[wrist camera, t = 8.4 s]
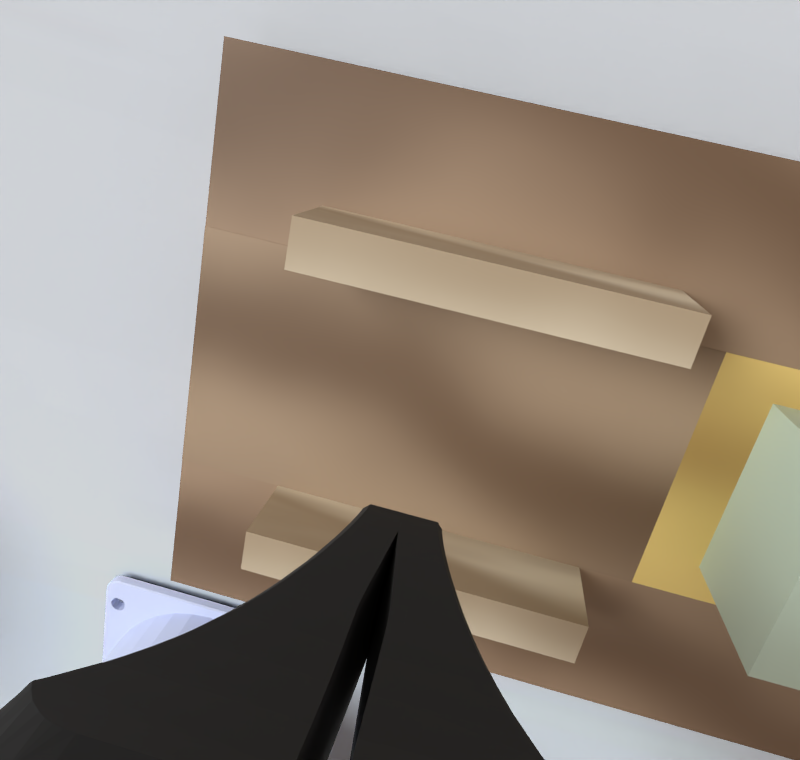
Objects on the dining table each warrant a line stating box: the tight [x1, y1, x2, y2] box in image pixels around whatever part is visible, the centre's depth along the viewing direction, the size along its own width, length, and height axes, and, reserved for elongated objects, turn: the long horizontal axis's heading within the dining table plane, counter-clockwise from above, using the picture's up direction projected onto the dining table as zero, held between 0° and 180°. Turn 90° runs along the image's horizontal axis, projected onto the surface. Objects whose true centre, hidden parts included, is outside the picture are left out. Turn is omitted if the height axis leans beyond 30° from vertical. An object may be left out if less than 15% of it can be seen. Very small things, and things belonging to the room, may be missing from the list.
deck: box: [171, 36, 800, 760], centre depth 17 cm, size 16×28×4 cm, turn 78°
